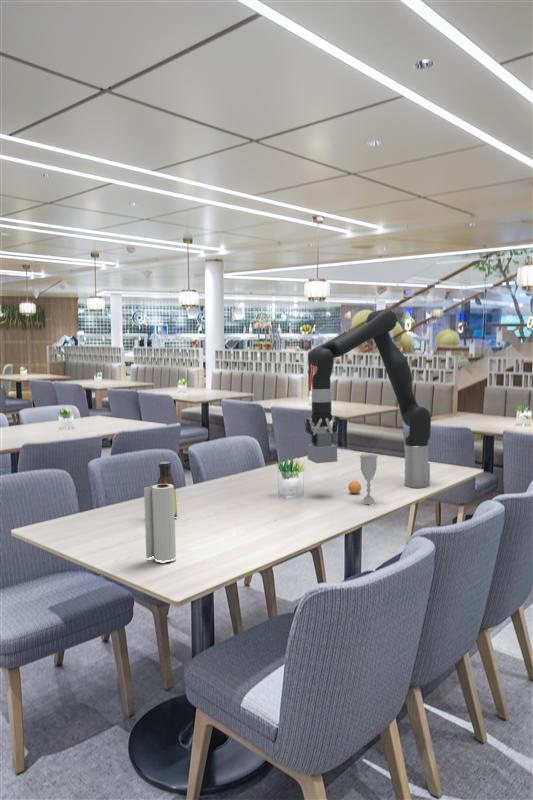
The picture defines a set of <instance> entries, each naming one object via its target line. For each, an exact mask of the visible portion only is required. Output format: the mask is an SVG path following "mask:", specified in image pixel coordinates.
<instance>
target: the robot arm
mask: <svg viewBox="0 0 533 800" xmlns="http://www.w3.org/2000/svg"><path fill="white" fill-rule="evenodd" d="M397 322H398V317H397V314H396V313H395V312H394V311H393V310H391V309H387V308H386V309H378V310H375V311H371V312H370V313H368V316H367V318H366V323H365V324H363V325H361V326H358V327H356V328H354V329H352V330H348V331H347V332H344V333H343V334H341V335H339V336H337V337H335V338H334V339H333V340H331V341H329V342H326V343H324V344H323V343H322V344H321V345H319V346H316V347H315V348H313V349H312V350H311V351H310V352H309V354H308V361H309V362H308V363H310V365H312V366H313V367H317V368H316V373H314V374H313V375H312V377H311V378H312V379H311V385H312V388H311V416H310V417H306V418H305V417H304V420H303V421H304V427H305V432H306V433H307V434H309V435H311V437H310V438H311V439H310V440H311V441H310V442H311V444H313V445H316V444H317V441H316V433H317V431H318V430H320V428H322V427H324V428H325V429H326V431H328V432H331V433H332V442H334V440H333V437H334V436H333V434H334V433H337V432H338V428H339V422H340V417H339V416H335V415H332V398H333V397H332V392H331V389H332V388H331V376H332V372H333V370H334V369H333V368H334V360H335V359H334V358H339V357H343V356H344V355H346V354H347V353H349V352H350V351H353V350H354V349H355V348H357V347H359V346H360V345H362V344H364V343H366V342H367V341H369V340H371V339H373V341H374V343H375V345H376V347H377V349H378V353H379V355H380V357H381V361H382V363H383V365H384V369H385V372H386V373H387V377H388V379H389V382H390V384H391V387H392V390H393V391H394V395H395V397H396V399H397V403H398V407H399V411H400V414H401V419H402V421H403V423H404V425H406V426H407V427H409V431H408V432H409V433H408V435H407V436H406V437H405V438H404V439H405V440H404V486H405V487H408V488H414V489H422V488H427V487H430V486H431V485H430V483H431V480H430V478H431V464H430V463H429V441H430V437H431V427H432V425H431V424H432V423H431V422H432V417H431V413H430V411H429V409H427V408H426V407H424V406H421V405H418V403H417V400H416V398H415V395H414V393H413V392H414V391H413V375H412V370H411V367H410V365H409V362H408V359H407V358H406V356H405V355H404V353H402V351H401V350H400V349H399V348H398V346H396V344H395V342H394V341H393V340H392V336H391V334H390V332H391V331H393V330H394V329H395V327H396V326H397ZM312 422H313V424H312V426H311V423H312ZM331 422H332V425H331Z"/></svg>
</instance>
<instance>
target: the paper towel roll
mask: <svg viewBox="0 0 533 800" xmlns="http://www.w3.org/2000/svg"><path fill="white" fill-rule="evenodd" d="M143 496H144V497H143V498H144V525H145V526H144V527H145V529H144V530H145V552H146V554H145V557H146V558H149V557H152V556H154V558H155V559H157V560H162V561H165V560H171V559H174V558H175V557H176V558H177V555H176V553H177V551H176V519H175V511H174V485H172V484H158V485H157V484H153V485H152V484H151V485H150V486H147V487H146V486H145V487H144V488H143Z"/></svg>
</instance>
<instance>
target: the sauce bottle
mask: <svg viewBox="0 0 533 800" xmlns="http://www.w3.org/2000/svg"><path fill="white" fill-rule="evenodd" d="M171 464H172V463H171V462H170V461H160V462H158V468H159V478H158V480H157V482H156V485H158V484H172V485H174V511H175V517H177V518H178V508H177V507H178V505H177V503H178V502H177V493H176V492H177V490H176V483H175V482H174V479H173V475H172V471H171V466H172V465H171Z"/></svg>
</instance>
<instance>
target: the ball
mask: <svg viewBox="0 0 533 800" xmlns="http://www.w3.org/2000/svg"><path fill="white" fill-rule="evenodd" d="M347 488H348V491H349V492H350V494H354V495H356V494H359V493H360V492H361V490H362V485H361V483H360V482H359V481H357V480H353V481H350V482H349V484H348V487H347Z"/></svg>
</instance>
